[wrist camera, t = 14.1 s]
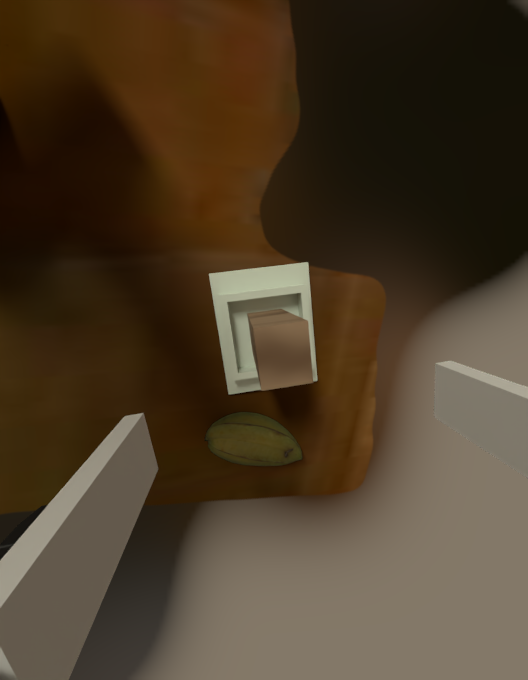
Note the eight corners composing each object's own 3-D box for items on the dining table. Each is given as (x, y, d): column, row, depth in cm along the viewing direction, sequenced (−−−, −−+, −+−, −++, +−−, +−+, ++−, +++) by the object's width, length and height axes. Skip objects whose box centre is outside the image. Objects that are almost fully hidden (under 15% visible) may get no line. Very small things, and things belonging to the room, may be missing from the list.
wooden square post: (247, 313, 35) (253, 328, 22) (281, 308, 36) (308, 320, 22) (252, 353, 37) (261, 390, 23) (285, 348, 37) (313, 382, 23)
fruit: (263, 383, 39) (268, 402, 32) (299, 440, 41) (310, 467, 35) (201, 420, 39) (194, 446, 32) (241, 474, 42) (242, 508, 35)
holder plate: (209, 274, 34) (206, 272, 31) (306, 262, 35) (313, 260, 33) (228, 393, 38) (228, 401, 35) (316, 379, 39) (322, 386, 36)
